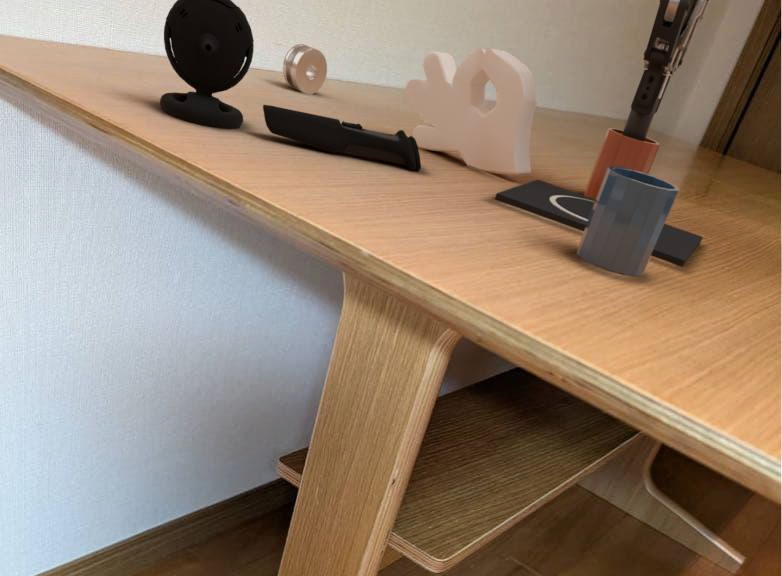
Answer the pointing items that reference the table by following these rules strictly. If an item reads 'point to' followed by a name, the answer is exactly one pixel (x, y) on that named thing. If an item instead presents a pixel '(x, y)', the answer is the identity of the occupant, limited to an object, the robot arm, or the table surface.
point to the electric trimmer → (342, 136)
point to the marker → (641, 120)
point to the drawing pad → (578, 209)
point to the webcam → (207, 59)
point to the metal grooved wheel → (305, 68)
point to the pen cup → (626, 221)
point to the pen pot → (621, 157)
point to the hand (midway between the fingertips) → (643, 111)
